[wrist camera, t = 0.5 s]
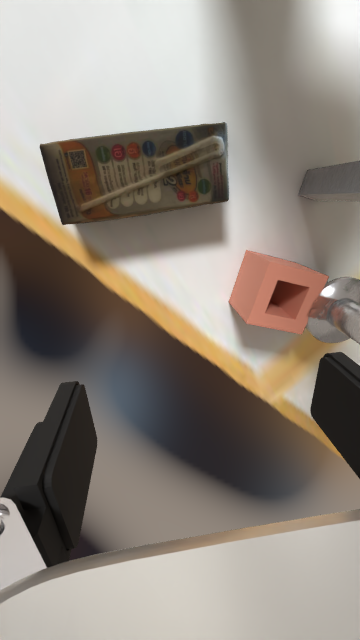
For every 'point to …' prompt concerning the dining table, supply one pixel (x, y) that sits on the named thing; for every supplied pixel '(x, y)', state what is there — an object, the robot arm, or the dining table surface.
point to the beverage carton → (137, 172)
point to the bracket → (277, 293)
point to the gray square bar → (333, 183)
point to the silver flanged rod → (338, 312)
